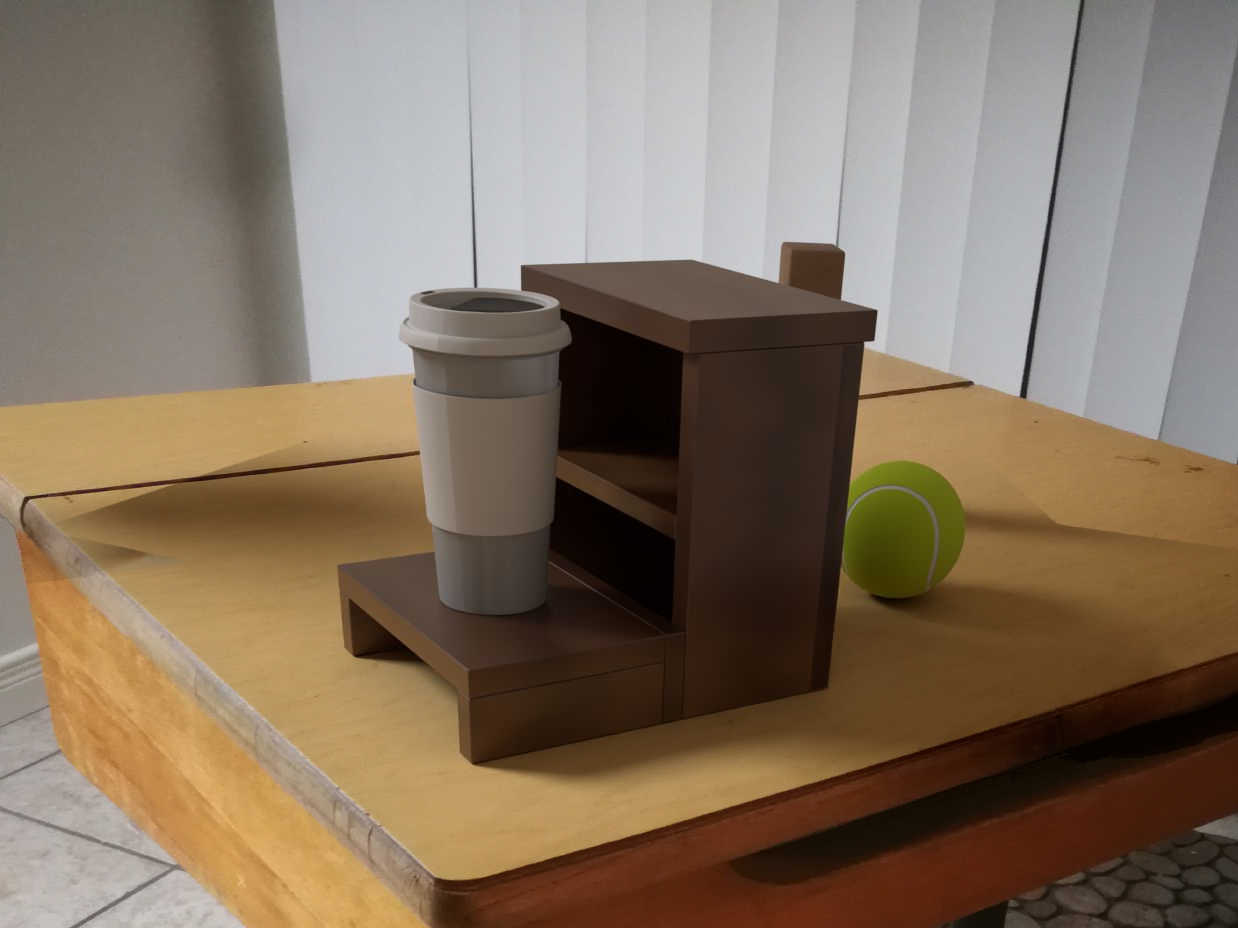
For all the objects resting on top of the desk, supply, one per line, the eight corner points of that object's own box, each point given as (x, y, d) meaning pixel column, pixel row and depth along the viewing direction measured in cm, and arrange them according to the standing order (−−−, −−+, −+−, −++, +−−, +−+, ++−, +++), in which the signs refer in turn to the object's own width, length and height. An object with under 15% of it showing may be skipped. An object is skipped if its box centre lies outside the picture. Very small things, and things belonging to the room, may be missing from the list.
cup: (470, 561, 66) (460, 279, 60) (598, 587, 64) (602, 298, 58) (381, 607, 61) (360, 301, 54) (519, 637, 59) (513, 322, 52)
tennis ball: (842, 566, 81) (855, 440, 78) (964, 585, 80) (984, 456, 76) (812, 604, 76) (825, 470, 72) (943, 625, 74) (963, 488, 70)
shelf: (471, 764, 57) (455, 333, 49) (343, 648, 67) (311, 271, 58) (837, 686, 66) (878, 310, 58) (677, 593, 76) (692, 259, 67)
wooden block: (821, 511, 90) (846, 251, 82) (770, 510, 90) (790, 248, 82) (802, 483, 96) (824, 236, 88) (754, 482, 96) (771, 234, 87)
